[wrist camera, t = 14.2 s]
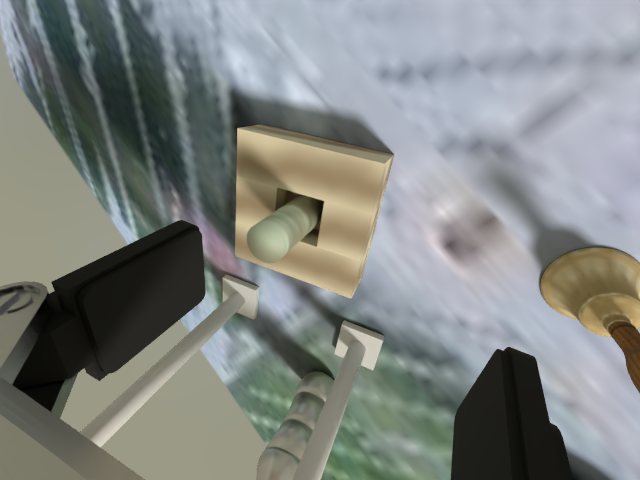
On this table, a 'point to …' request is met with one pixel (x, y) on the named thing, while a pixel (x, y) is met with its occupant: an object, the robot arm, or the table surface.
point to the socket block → (317, 182)
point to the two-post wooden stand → (237, 298)
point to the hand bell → (599, 296)
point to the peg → (284, 228)
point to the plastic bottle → (295, 429)
